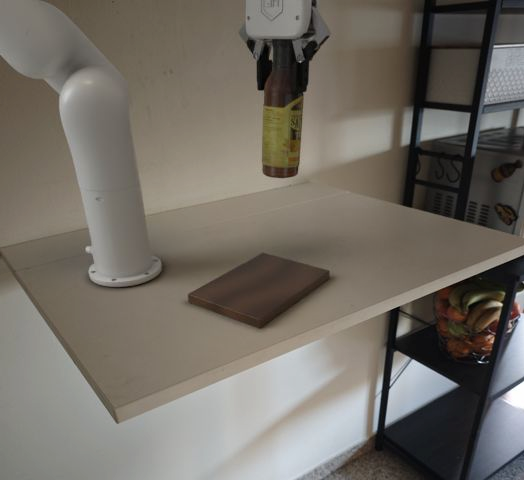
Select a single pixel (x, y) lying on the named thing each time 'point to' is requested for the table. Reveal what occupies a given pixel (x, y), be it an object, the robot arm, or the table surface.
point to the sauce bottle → (281, 115)
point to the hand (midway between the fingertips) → (281, 89)
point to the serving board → (259, 289)
